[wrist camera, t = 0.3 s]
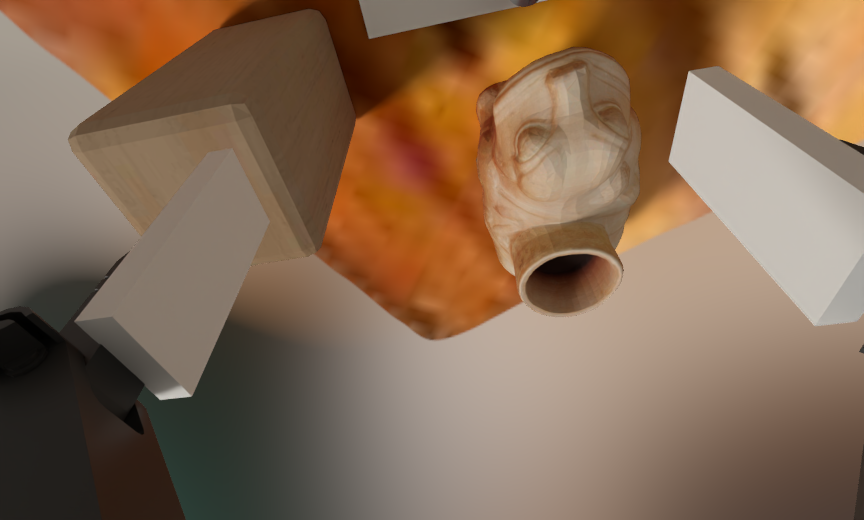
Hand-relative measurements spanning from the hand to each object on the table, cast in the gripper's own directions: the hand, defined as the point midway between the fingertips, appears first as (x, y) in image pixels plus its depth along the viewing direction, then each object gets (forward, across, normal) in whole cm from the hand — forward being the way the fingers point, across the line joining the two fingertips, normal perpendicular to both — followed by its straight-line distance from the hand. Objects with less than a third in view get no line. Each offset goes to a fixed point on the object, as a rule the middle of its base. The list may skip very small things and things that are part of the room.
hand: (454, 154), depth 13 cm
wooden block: (+28, -14, -5) cm, 31 cm away
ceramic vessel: (+28, +8, -16) cm, 33 cm away
